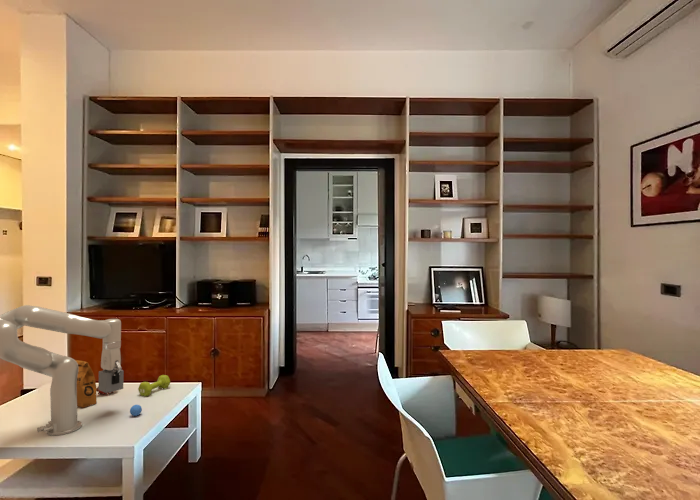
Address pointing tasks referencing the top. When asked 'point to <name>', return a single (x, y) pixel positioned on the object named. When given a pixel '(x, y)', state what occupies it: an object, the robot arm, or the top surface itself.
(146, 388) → the dumbbell
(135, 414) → the ball
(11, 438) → the top surface
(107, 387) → the grey square block
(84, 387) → the coffee package
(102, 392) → the dragon fruit
